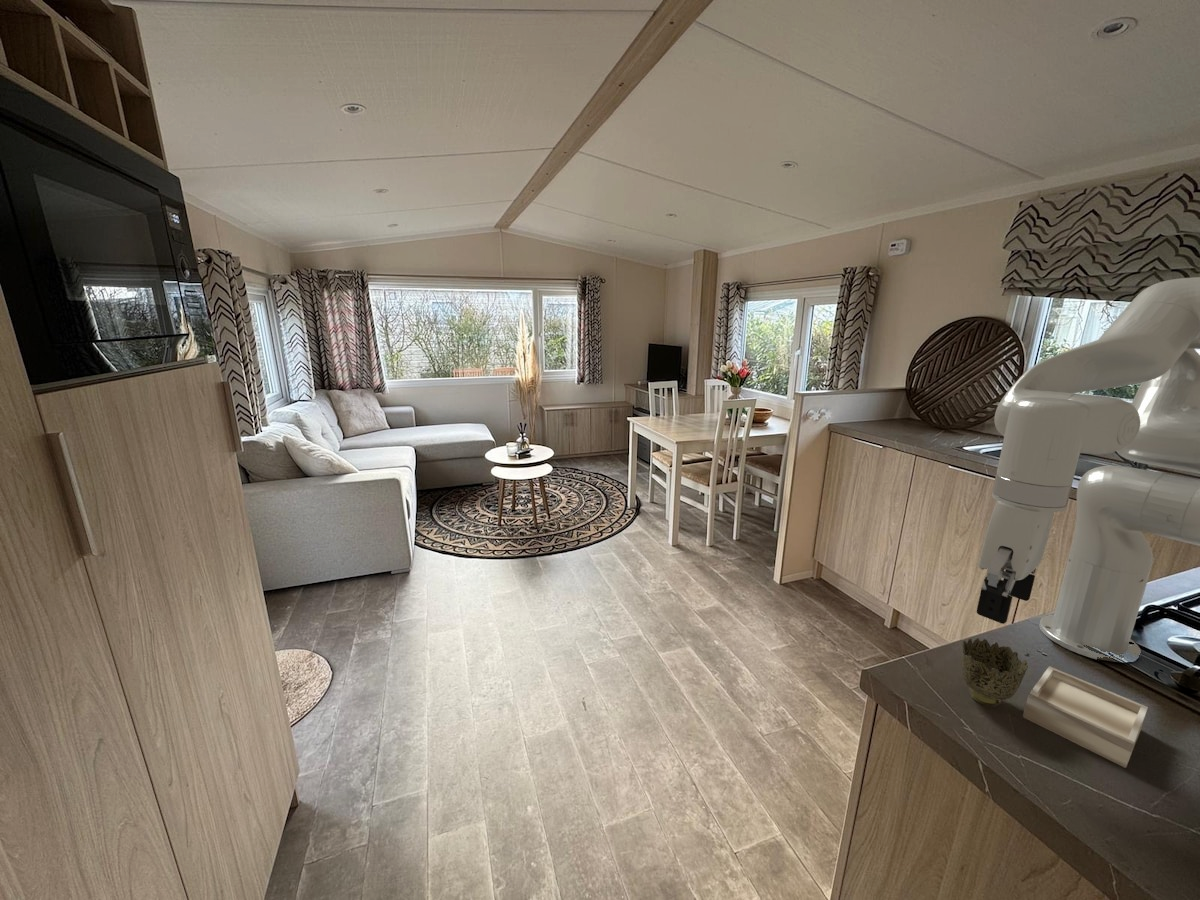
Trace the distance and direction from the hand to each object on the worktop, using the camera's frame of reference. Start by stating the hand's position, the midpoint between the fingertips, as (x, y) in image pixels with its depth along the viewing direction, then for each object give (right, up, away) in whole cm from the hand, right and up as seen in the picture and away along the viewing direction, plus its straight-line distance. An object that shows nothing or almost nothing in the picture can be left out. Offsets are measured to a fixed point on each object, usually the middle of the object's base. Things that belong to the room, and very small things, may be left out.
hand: (1003, 606), depth 68 cm
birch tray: (+11, -16, 0) cm, 19 cm away
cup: (+1, -15, +4) cm, 16 cm away
